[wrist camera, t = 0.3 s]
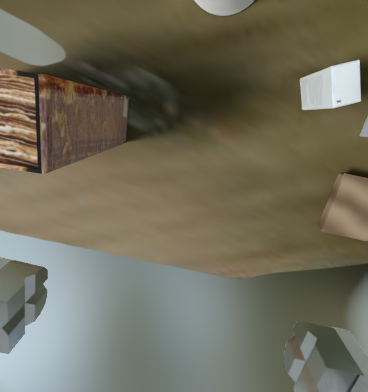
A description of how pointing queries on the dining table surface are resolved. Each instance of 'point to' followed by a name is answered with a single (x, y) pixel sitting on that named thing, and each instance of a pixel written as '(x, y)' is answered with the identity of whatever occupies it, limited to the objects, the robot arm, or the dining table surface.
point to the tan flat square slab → (347, 208)
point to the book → (56, 121)
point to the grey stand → (365, 129)
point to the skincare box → (331, 87)
